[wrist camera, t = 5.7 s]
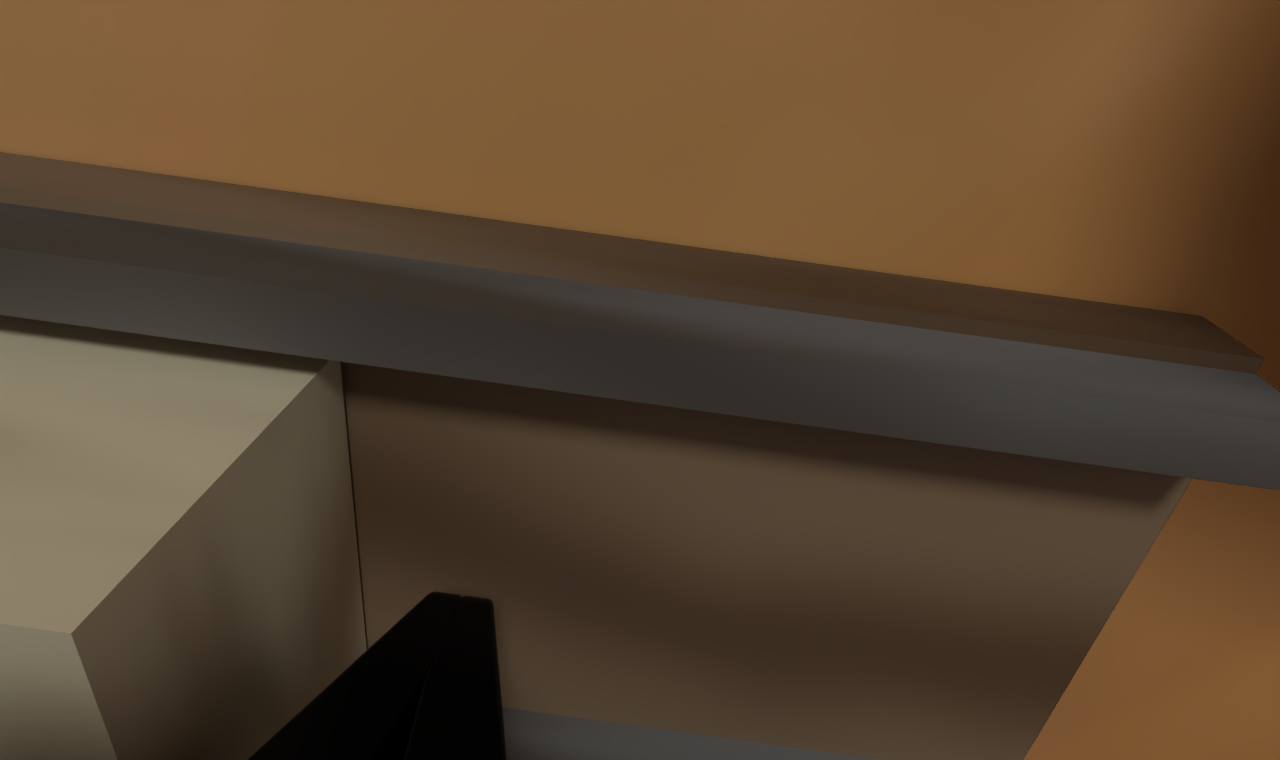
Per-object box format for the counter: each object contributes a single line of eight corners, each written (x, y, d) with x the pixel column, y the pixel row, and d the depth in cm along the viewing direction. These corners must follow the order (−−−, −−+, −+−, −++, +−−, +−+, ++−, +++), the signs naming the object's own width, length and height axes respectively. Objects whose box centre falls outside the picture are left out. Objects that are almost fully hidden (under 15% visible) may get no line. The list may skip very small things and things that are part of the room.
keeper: (369, 674, 12) (210, 1012, 8) (67, 632, 12) (-235, 948, 8) (339, 350, 9) (70, 634, 5) (-59, 295, 9) (-623, 537, 5)
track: (969, 749, 14) (1141, 1243, 9) (-286, 575, 14) (-906, 955, 9) (1202, 316, 10) (1862, 767, 4) (-628, 66, 10) (-2333, 188, 4)
